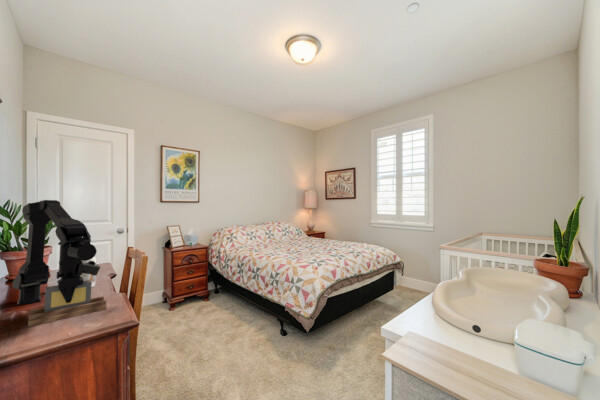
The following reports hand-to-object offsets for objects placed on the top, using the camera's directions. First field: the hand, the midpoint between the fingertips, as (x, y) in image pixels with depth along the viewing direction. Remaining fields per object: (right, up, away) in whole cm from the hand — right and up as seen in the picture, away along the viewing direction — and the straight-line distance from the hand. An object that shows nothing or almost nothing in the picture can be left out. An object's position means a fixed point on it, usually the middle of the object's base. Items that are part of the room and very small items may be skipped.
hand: (68, 301), depth 89 cm
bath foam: (-19, -5, +29) cm, 35 cm away
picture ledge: (0, -5, 0) cm, 5 cm away
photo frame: (0, -2, 0) cm, 2 cm away
